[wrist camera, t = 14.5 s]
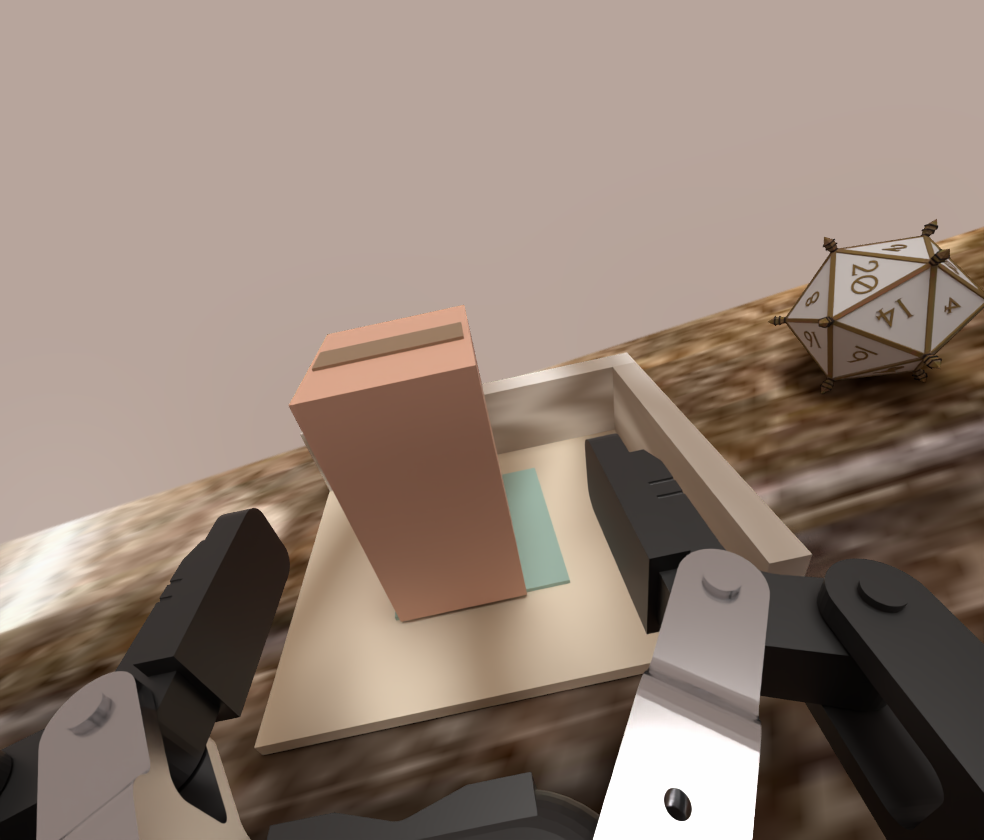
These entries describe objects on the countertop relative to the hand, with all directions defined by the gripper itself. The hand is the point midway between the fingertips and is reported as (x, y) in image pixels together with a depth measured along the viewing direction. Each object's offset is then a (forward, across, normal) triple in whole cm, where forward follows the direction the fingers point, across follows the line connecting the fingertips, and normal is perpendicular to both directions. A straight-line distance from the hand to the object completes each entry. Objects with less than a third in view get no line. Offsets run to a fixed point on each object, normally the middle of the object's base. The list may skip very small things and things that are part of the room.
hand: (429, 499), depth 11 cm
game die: (+13, -24, +9) cm, 28 cm away
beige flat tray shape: (+6, 0, +9) cm, 10 cm away
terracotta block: (+5, +1, +8) cm, 9 cm away
